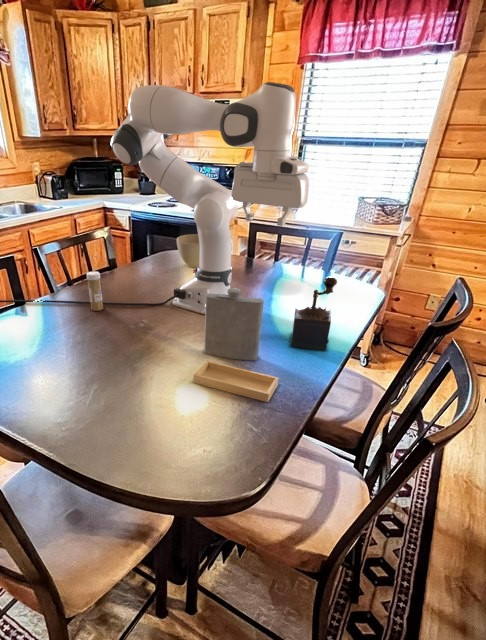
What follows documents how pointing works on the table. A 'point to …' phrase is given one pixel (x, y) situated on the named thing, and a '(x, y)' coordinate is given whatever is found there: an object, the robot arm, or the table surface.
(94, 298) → the sprinkles bottle
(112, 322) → the table surface
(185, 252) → the flower pot
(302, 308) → the dark brown coffee grinder
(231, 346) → the hip flask
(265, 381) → the flask stand
